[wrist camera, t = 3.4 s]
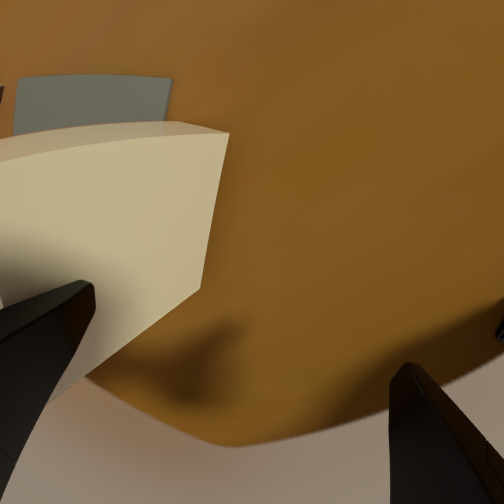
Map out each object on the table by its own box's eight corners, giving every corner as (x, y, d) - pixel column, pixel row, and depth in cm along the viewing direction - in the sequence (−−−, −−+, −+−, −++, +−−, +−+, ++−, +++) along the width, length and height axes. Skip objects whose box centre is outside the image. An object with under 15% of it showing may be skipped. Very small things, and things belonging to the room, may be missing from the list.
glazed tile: (229, 133, 12) (-21, 168, 4) (199, 288, 16) (44, 406, 8) (175, 120, 13) (-42, 149, 5) (157, 265, 17) (5, 356, 8)
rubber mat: (173, 79, 12) (171, 78, 12) (147, 291, 18) (145, 293, 17) (21, 78, 12) (18, 78, 12) (21, 246, 18) (19, 247, 18)
